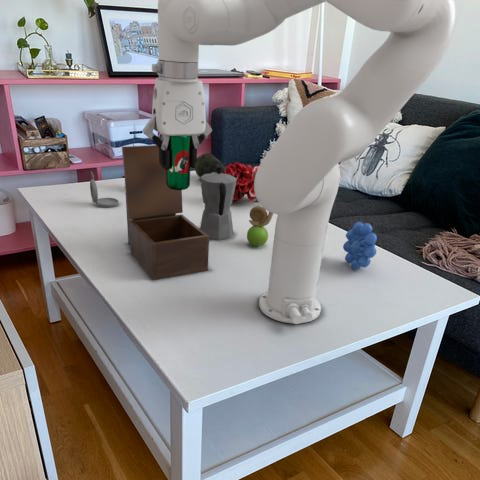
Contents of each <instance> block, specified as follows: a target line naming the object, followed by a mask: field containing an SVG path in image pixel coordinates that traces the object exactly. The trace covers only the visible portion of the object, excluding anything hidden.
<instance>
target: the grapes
mask: <svg viewBox="0 0 480 480" xmlns="http://www.w3.org/2000/svg"><path fill="white" fill-rule="evenodd" d="M372 231H373V226H372V225H371V224H370V223H369V222H367V223H364V222H362V221H356V222H355V223H354V224H353V226H352V228H350V229H349V230H347V232H346V234H345V238H346V241H345V242H344V243H343V245H342V248H343V250H344V252H346V254H345V256H344V259H345V261H346V263H347V264H350V267H351V268H352V269H353V270H356V271H357V270H360V269H361V268H363V269H364V268H367V267H369V266H370V264H371V261H372V260H371V259H372V258H374V257H375V256H376V254H377V249H376V243H377V241H378V236H377V234H375V233H374V232H372Z"/></svg>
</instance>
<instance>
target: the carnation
mask: <svg viewBox="0 0 480 480" xmlns="http://www.w3.org/2000/svg"><path fill="white" fill-rule="evenodd" d="M216 166H221V167H223V168H222V172H221V173H223V174H228V175H231V176H233V177H235V178H237V181H236V186H235V191H234V196H233V201H232V203H237V202H240V201H241V200H243V198H245V196H246V197H247V200H248V201H250V202H253V203H254V202H256V201H258V200H257V198H256V195H255V191H254V180H255V175H256V172H257V170H258V167H259V166H260V165H256V166H254V167H253V166H251V164H247V165H244V164H243V163H239V162H237V161H235V162H234V163H233V164H232V163H230V162H229V164H228V165H224V164H223V162H222V161H220V160H219V159H218V158H217V157H216V156H214V154H212V153H210V152H204V153H202V154H200V155H199V156H197V162H196V163H195V168H194V170H195V174H196V175H197V177H198V178H200V177H202V176H203V175H204V174H211V173H212V172H215V173H217V170H216Z"/></svg>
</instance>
